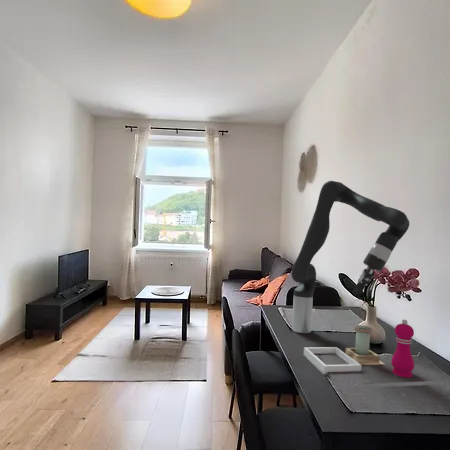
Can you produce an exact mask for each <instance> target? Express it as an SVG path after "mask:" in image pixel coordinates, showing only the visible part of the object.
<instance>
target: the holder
mask: <svg viewBox="0 0 450 450" xmlns="http://www.w3.org/2000/svg"><path fill="white" fill-rule="evenodd" d="M344 353H345V354H347V355H348V356H349V357H351V358H352V359H354V360H355V361H356V362H358V363H359V364H360V365H361V366H369V365H370V366H373V365H375V366H376V365H377V366H378V365H385V362H383V361H381V360H380V358H381V357H380V355H379V354H377V353H375V352H374V351H372V350H370V349H369V355H360V356H359V355H357V354H356V353H355V347H345V348H344Z"/></svg>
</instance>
